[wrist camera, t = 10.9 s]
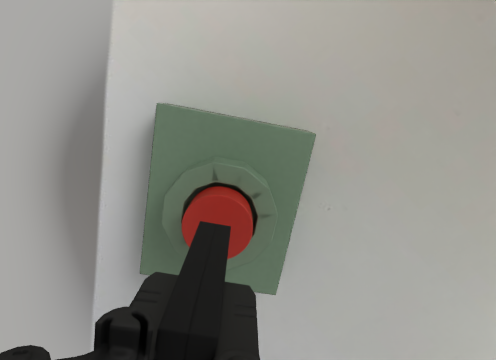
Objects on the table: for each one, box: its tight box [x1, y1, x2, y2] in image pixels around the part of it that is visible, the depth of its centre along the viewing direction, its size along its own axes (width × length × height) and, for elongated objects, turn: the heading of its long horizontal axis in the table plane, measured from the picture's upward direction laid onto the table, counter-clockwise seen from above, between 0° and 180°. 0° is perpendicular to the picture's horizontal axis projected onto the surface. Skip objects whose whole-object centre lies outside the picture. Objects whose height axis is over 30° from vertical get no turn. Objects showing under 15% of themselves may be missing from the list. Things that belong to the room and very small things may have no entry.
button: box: [182, 186, 253, 259], centre depth 16 cm, size 4×4×2 cm
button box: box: [140, 103, 316, 295], centre depth 19 cm, size 12×10×4 cm
